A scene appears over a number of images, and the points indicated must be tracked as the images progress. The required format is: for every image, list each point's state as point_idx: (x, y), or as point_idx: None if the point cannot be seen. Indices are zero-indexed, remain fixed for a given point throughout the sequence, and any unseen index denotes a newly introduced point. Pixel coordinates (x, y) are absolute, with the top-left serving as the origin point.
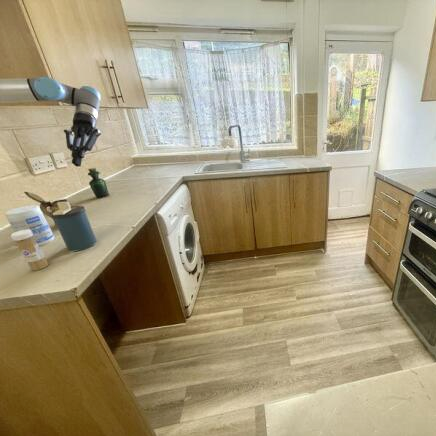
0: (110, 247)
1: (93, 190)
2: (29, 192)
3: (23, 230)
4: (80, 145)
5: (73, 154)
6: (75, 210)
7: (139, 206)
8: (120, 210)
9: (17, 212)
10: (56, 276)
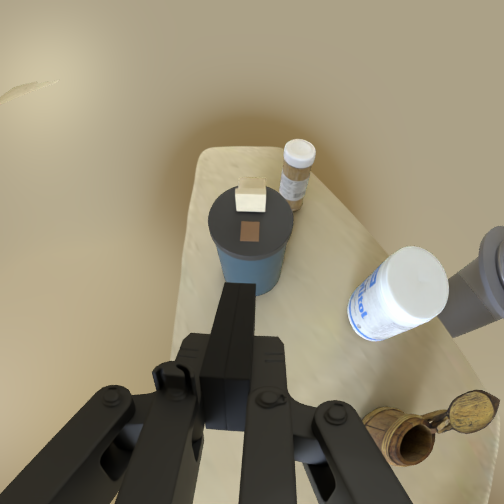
0: (188, 255)
1: None
2: (492, 414)
3: (302, 154)
4: (175, 420)
5: (252, 330)
6: (226, 211)
7: None
8: None
9: (409, 254)
10: (244, 175)
